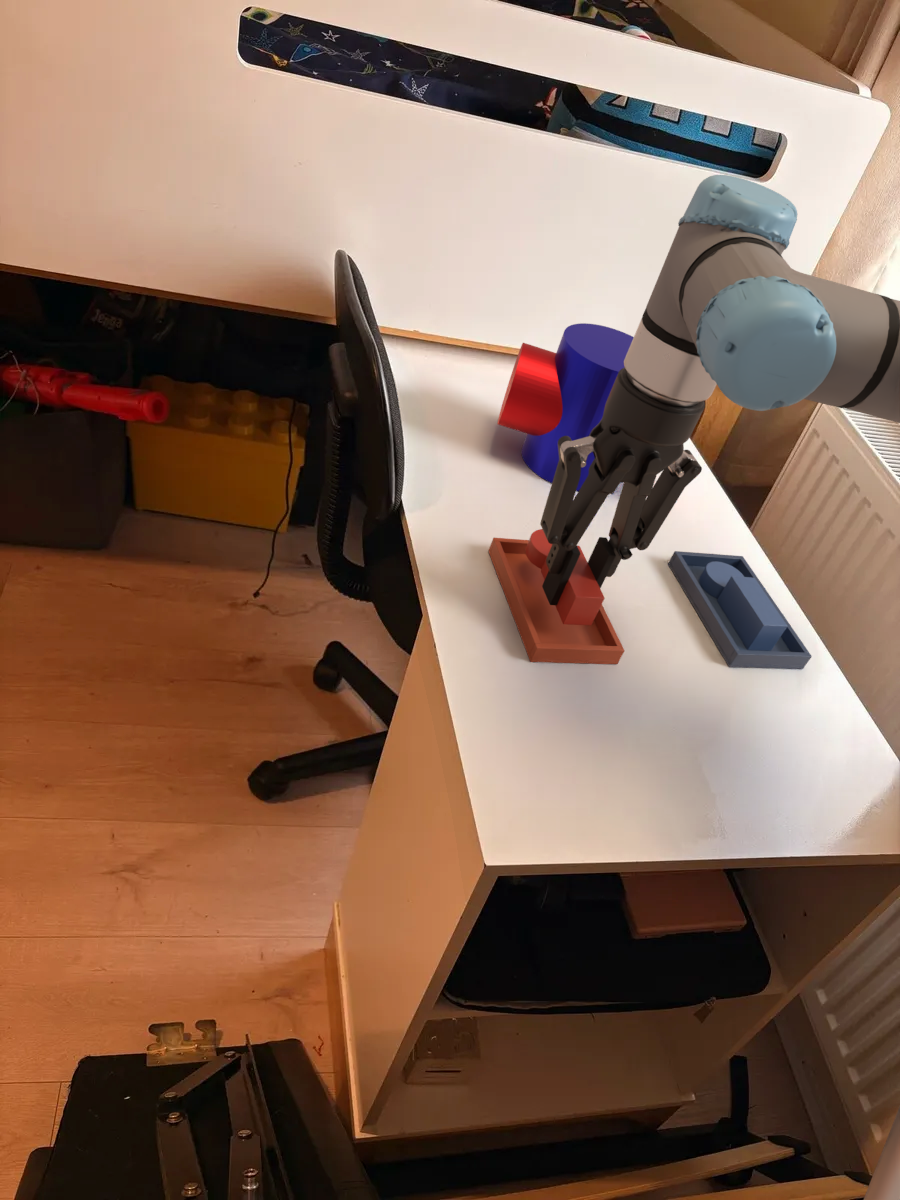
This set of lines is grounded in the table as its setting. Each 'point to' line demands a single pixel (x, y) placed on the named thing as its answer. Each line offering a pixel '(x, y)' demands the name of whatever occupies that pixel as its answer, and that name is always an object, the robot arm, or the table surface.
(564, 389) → the blue red crossed cylinders
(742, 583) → the blue spoon
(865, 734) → the table surface
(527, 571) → the red tray
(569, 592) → the red spoon
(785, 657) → the blue tray
